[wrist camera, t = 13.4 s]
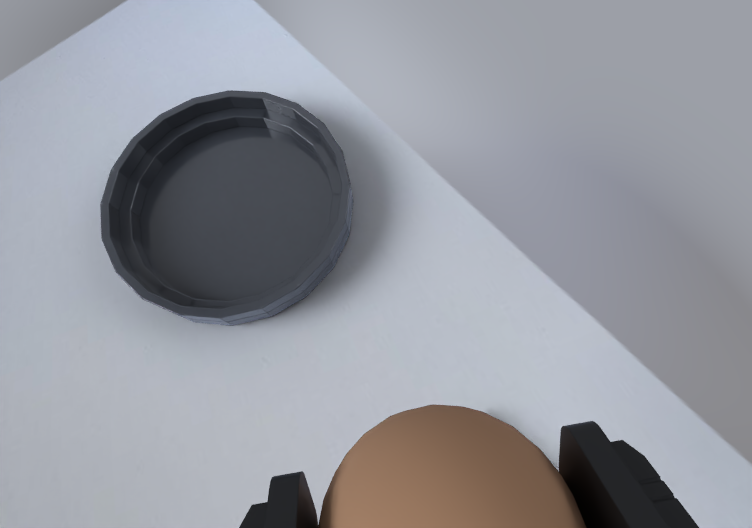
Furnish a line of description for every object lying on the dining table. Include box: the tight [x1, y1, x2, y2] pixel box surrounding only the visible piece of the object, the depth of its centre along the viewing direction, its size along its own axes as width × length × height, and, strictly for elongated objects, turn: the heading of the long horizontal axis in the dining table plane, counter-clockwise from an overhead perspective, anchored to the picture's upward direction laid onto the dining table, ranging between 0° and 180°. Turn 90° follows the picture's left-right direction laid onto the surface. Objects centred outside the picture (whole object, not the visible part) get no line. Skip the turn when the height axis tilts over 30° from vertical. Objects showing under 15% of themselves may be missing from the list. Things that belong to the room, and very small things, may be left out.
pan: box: [101, 91, 353, 325], centre depth 32 cm, size 17×17×3 cm
